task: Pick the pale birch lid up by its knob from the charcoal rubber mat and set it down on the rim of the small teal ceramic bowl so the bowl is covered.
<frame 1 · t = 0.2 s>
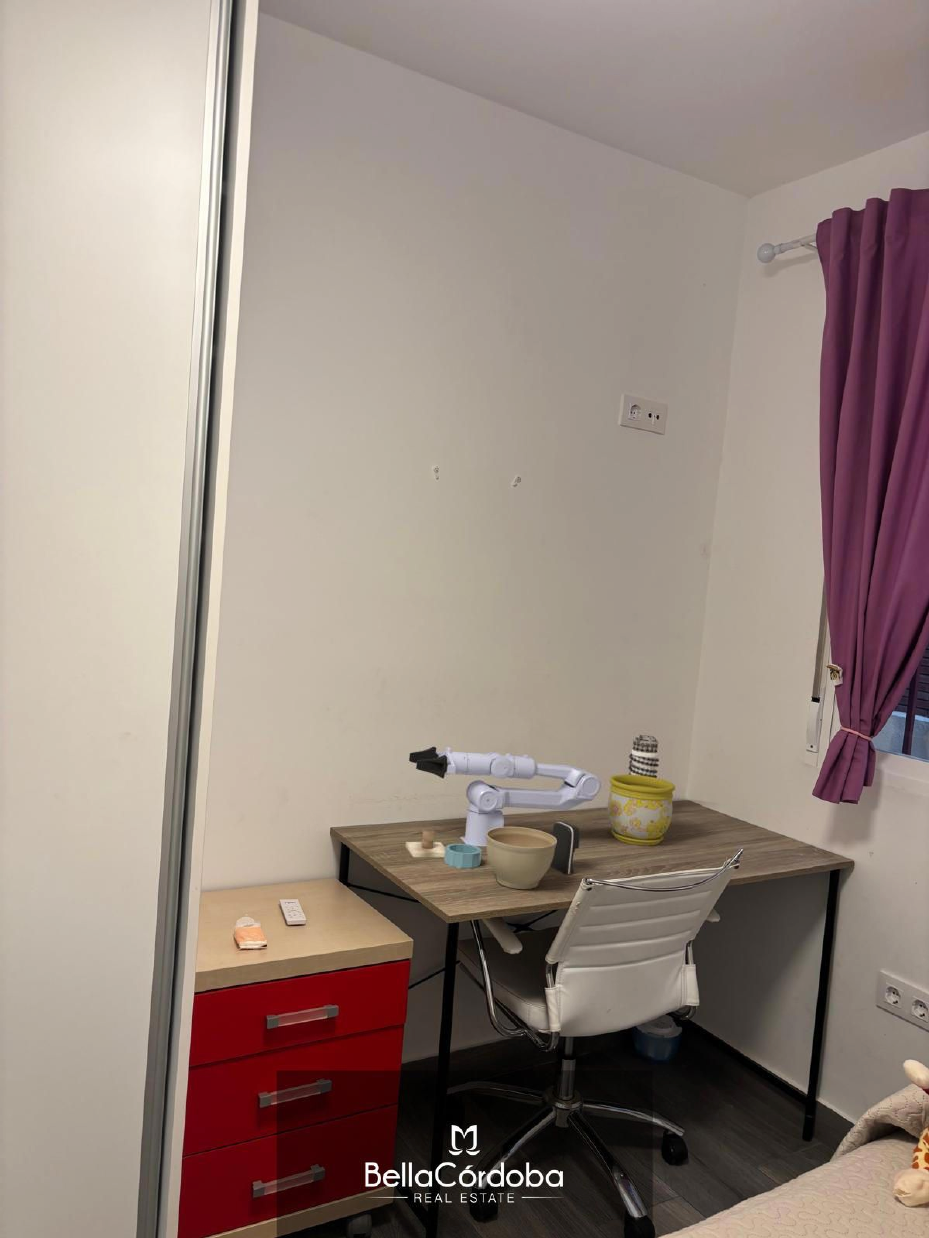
hand: (413, 760, 237), 21 cm above the table, tool horizontal, fingers open, 7 cm apart
flowerpot: (636, 840, 262), on the table
lid: (427, 851, 231), point 1 cm above the table, touching mat
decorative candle: (638, 816, 289), on the table
mat: (426, 853, 231), on the table
planter bowl: (517, 884, 214), on the table
battery charger: (563, 871, 227), on the table
bowl: (462, 865, 224), on the table
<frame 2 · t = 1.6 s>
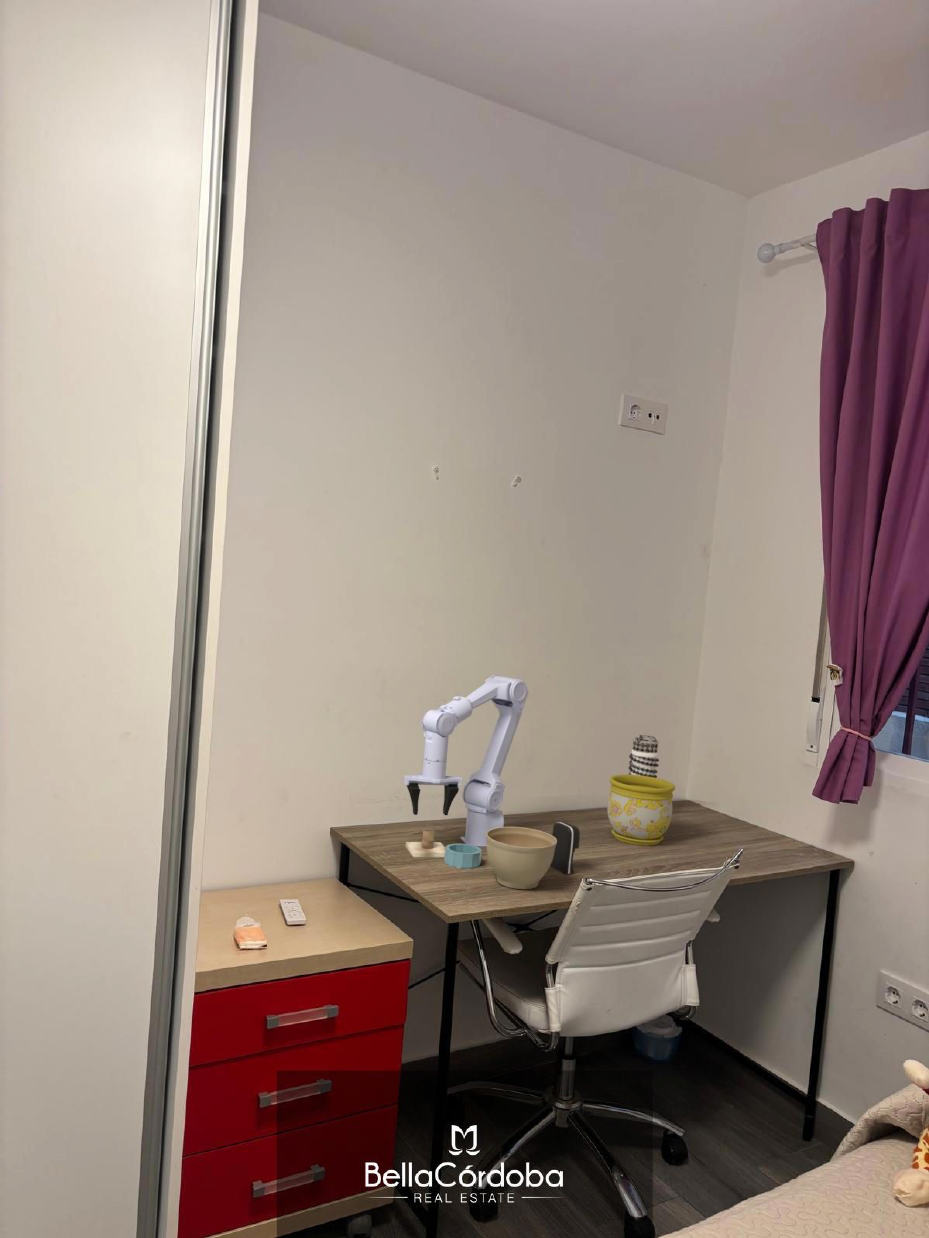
hand: (430, 814, 230), 10 cm above the table, tool pointing down, fingers open, 7 cm apart
nothing on the table moved.
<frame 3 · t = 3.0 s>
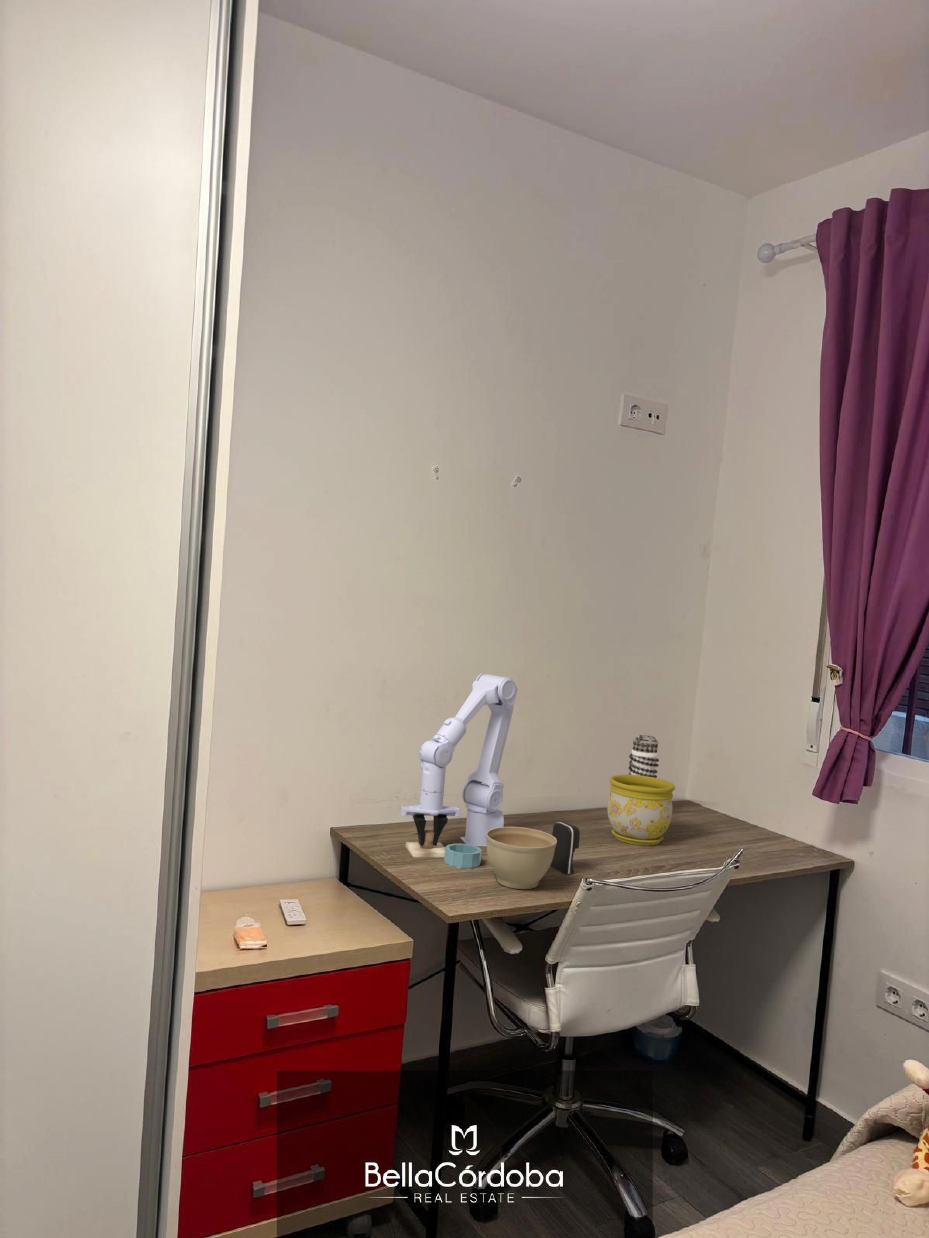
hand: (427, 844, 231), 2 cm above the table, tool pointing down, fingers closed on lid, 3 cm apart
lid: (427, 851, 231), point 1 cm above the table, touching gripper, mat
everything else where it was.
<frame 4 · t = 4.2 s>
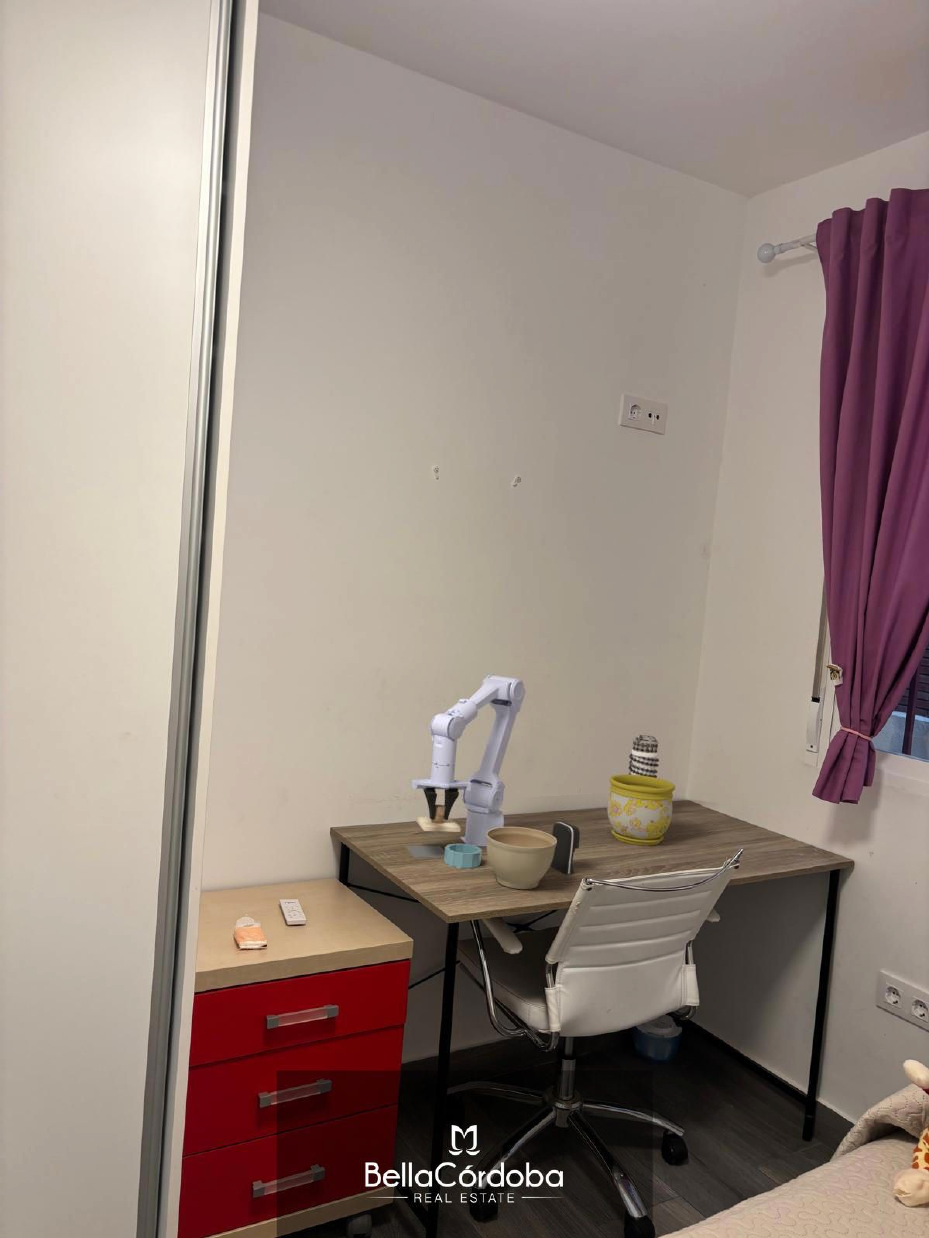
hand: (438, 818, 229), 9 cm above the table, tool pointing down, fingers closed on lid, 3 cm apart
lid: (437, 826, 229), point 8 cm above the table, touching gripper
everything else where it was.
when the fingers open (7 cm above the table, at t = 5.4 s): lid drops 1 cm, resting on bowl.
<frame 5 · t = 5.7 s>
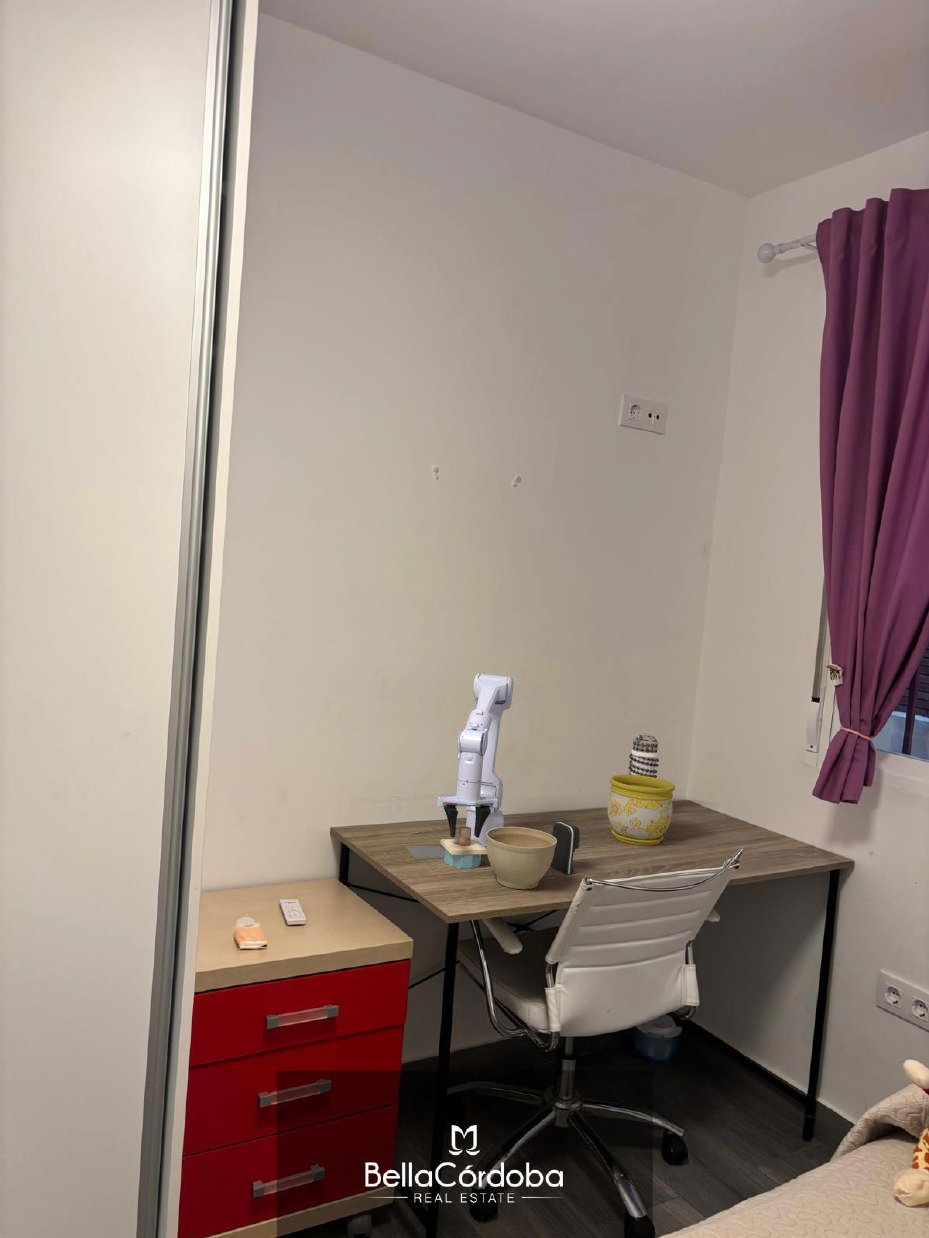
hand: (464, 836, 224), 7 cm above the table, tool pointing down, fingers open, 5 cm apart
lid: (463, 848, 224), point 4 cm above the table, touching bowl
everything else where it was.
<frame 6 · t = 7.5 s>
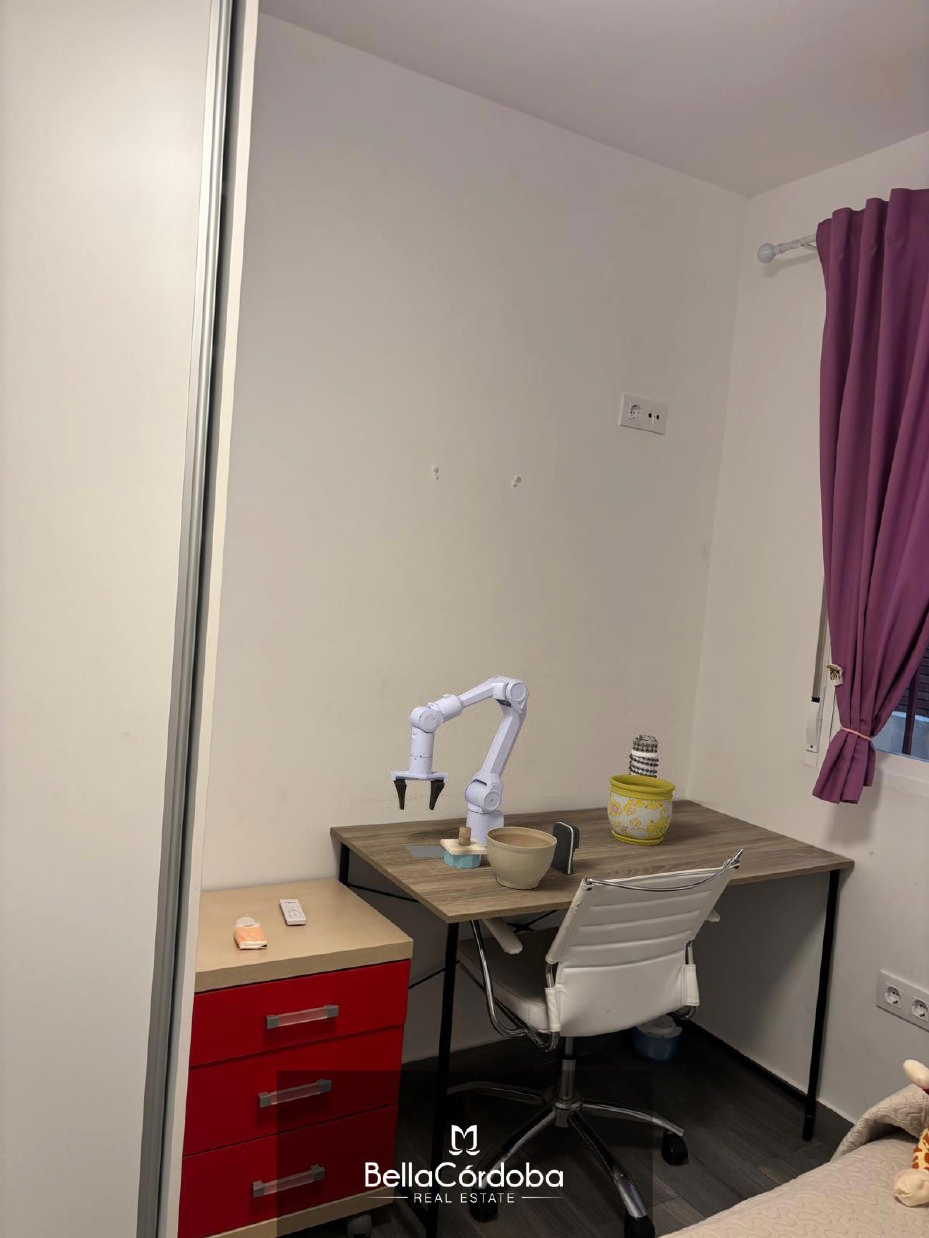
hand: (416, 809, 234), 10 cm above the table, tool pointing down, fingers open, 7 cm apart
nothing on the table moved.
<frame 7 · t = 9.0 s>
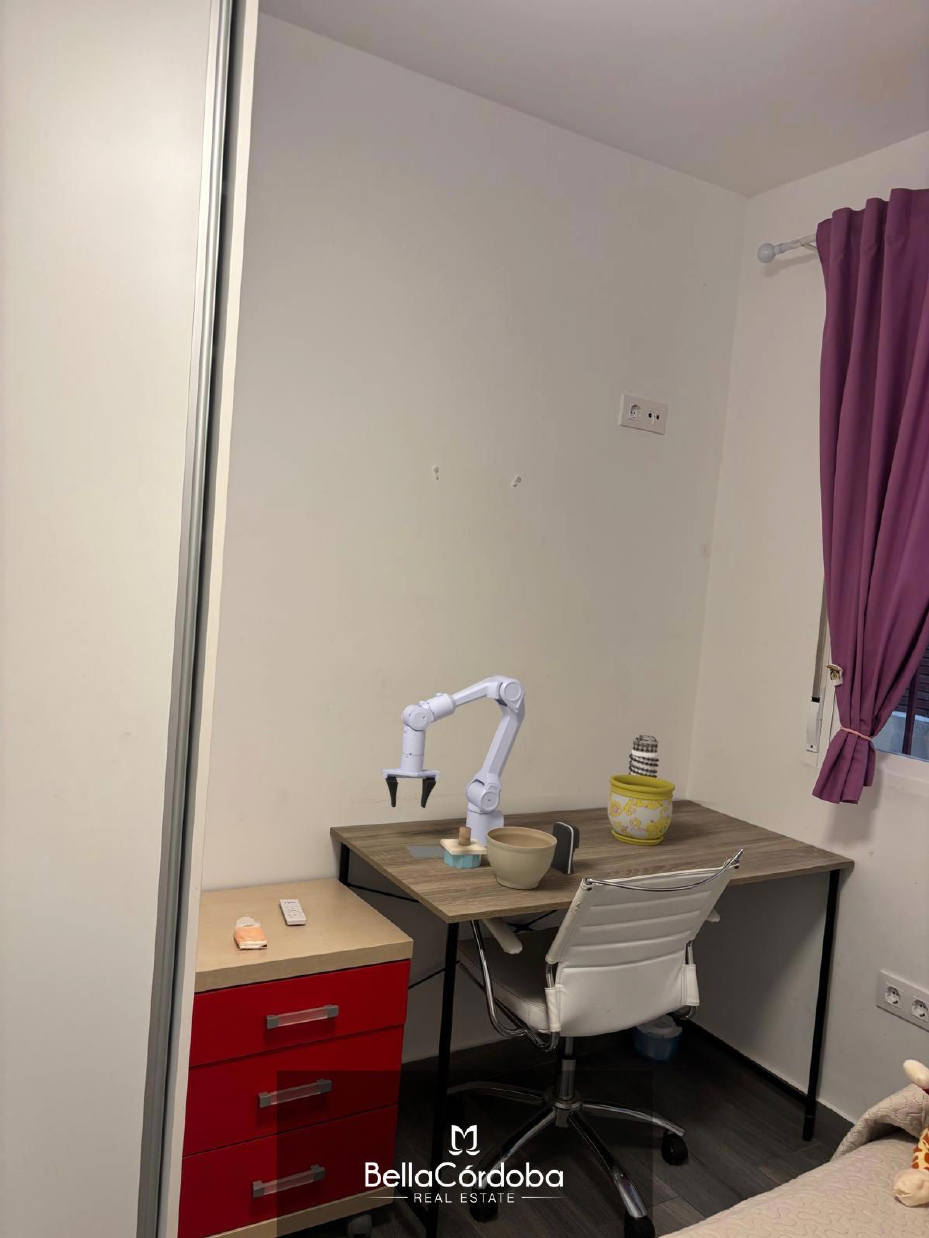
hand: (408, 806, 236), 10 cm above the table, tool pointing down, fingers open, 7 cm apart
nothing on the table moved.
at the end: lid 0.1 cm off-centre on the bowl, point 4.0 cm above the bowl's base; lid tilted 0°; the gripper is holding nothing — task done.
